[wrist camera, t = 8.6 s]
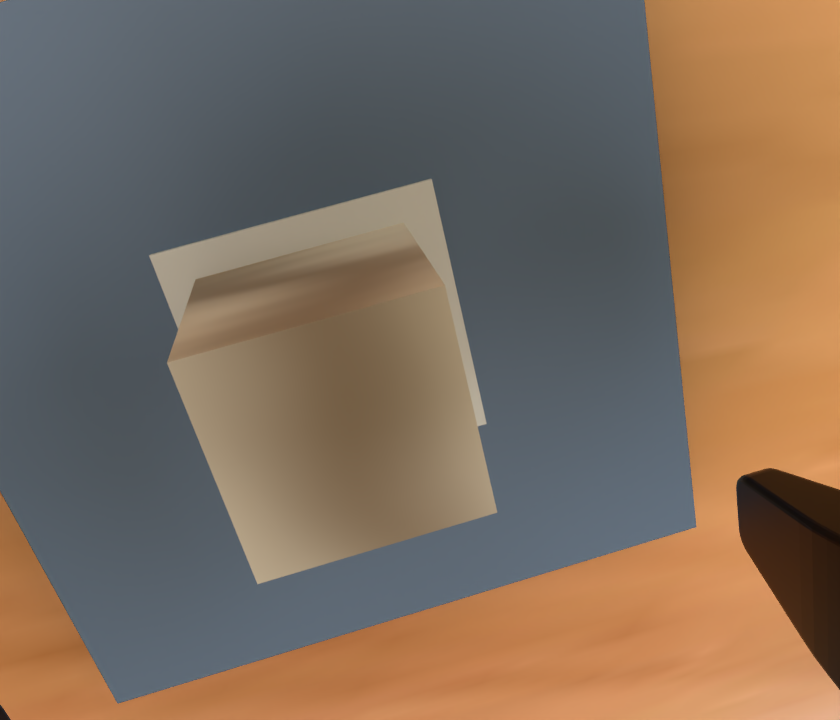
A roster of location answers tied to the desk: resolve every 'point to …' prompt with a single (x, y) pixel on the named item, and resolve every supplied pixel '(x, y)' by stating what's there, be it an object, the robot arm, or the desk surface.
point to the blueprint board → (309, 227)
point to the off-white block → (331, 401)
